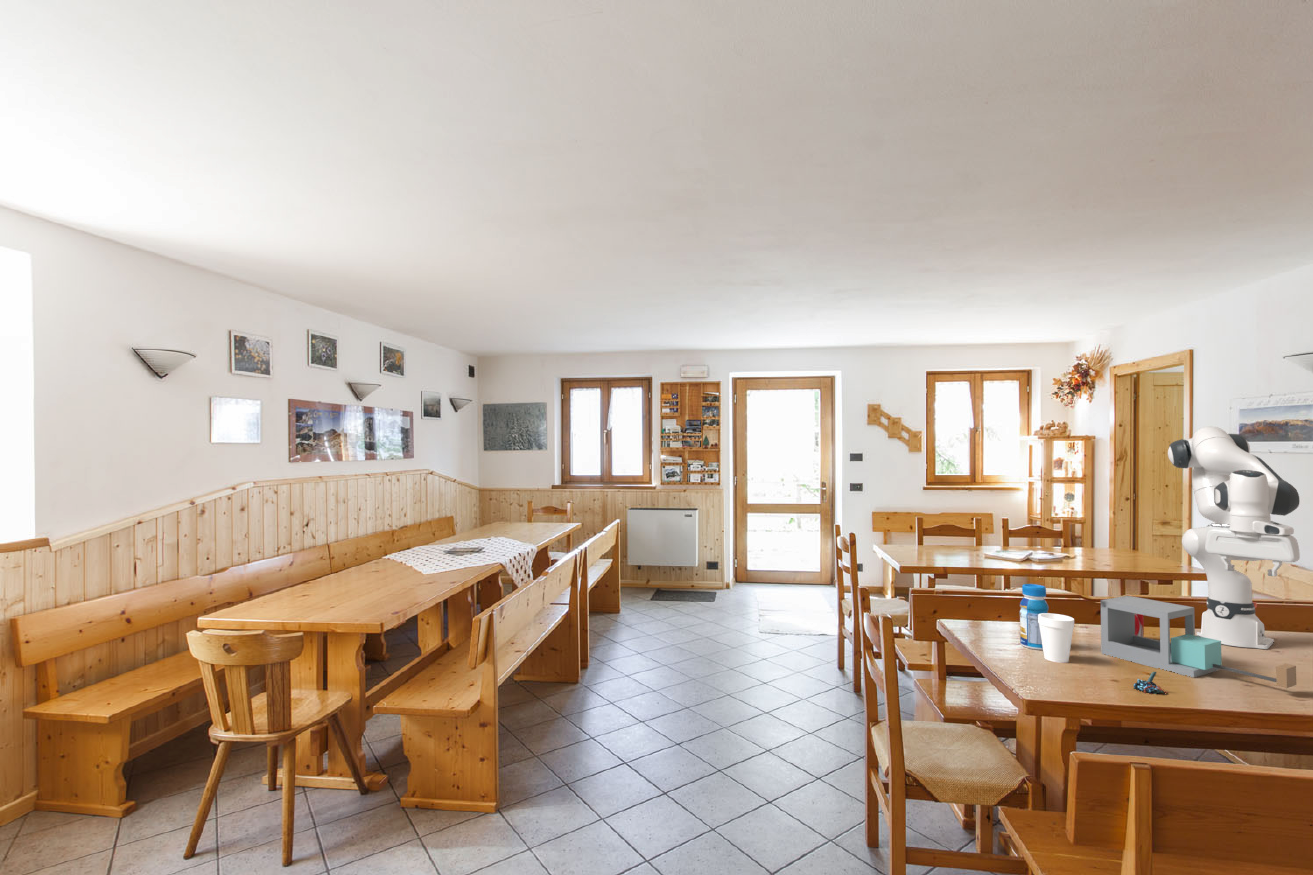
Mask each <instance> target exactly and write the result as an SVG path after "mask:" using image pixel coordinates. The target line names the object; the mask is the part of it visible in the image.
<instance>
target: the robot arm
mask: <svg viewBox="0 0 1313 875" xmlns="http://www.w3.org/2000/svg"><path fill="white" fill-rule="evenodd" d="M1250 446H1251V445H1250V444H1249V442H1248V440H1247V439H1246V437H1245V436H1243V435H1242V434H1239V433H1228V432H1226V431H1225V430H1224V429H1222V428H1220V427H1217V426H1204V427H1201V428H1199V429H1198V430H1196V431H1195V432H1194V434H1193V435H1192V437H1191V438H1185V439H1182V438H1181V439H1178V440H1175V441H1172V442H1171V443H1170V444H1169V447H1168V450H1167V457H1168V460H1169V461H1170V463H1171V464H1172V466H1174V467H1175V468H1178V469H1188V468H1192V471H1191V481H1192V488H1193V493H1194V497H1195V498H1194V499H1195V501H1196V506H1197V510H1198V512H1199V513H1200V515H1201V516H1202V517H1203V518H1205V519H1206V520H1209V521H1212V523H1211V524H1208V525H1207V526H1204V527H1202V526H1201V527H1194V528H1189V529H1187V530H1186V531H1185V532H1184V533H1183V535H1182V537H1181V544H1182V548H1183V549H1184V551H1185V553H1187V554H1188V555H1190V557H1193V558H1194V559H1195V560H1197V562H1198V563H1199V564H1200V566H1201V567H1202V568H1203V570H1204V571H1205V575H1206V579H1207V580H1206V582H1207V588H1208V589H1207V590H1208V596H1207V598H1206V608H1207V610H1206V611H1203V612H1202V615H1201V628H1200V629H1201V630H1200V631H1196V633H1195V634H1196V635H1195V636H1200V637H1205V638H1210V639H1215V640H1219V641H1221V645H1225V646H1231V647H1232V646H1233V647H1239V648H1250V649H1252V648H1253V649H1260V650H1261V649H1262V650H1269V648H1270V647H1272V645H1273V644H1274V643H1275V639H1274V638H1271V637H1267V636H1266V634H1265V633H1266V632H1265V624H1264V623H1263V622H1262V621H1261V620H1260V618H1259V617H1258V616H1257V615H1256V609H1257V607H1258V604H1257V602H1256V601H1253V589H1252V588H1253V582H1252V581H1251V579H1250V578H1249V577H1248V576H1247V575H1246V574H1244V573H1242V572H1240V571H1238V570H1236V569H1235V564H1232V561H1243V562H1244V561H1245V562H1246V561H1248V562H1257V561H1264V560H1267V561H1272V565H1273V567H1271V568H1270V569H1267V577H1268V576H1269V577H1273V578H1275V577H1277V576H1278V570H1279V569H1280V567H1282V566H1283V562H1285V563H1296V562H1297V561H1299V560H1300V557H1301V555H1300V554H1301V553H1300V548H1299V543H1298V540H1297V539H1296V537H1294V536H1293V534H1294V532H1295V529H1294V527H1291V526H1289V525H1286V524H1282V523H1279V522H1276V521H1273V520H1271V518H1272V517H1271V515H1274V516H1275V515H1276V516H1283V517H1284V516H1287V515H1289V514H1291V513H1293V512H1294V511H1296V510H1297V508H1298V507H1299V506H1300V495H1299V492H1298V490H1297V489H1296V488H1295V487H1294V486H1293V485H1292V484H1291V483H1289V482H1287V481H1286V480H1285V479H1283V478H1282V477H1281V476H1280V475H1279V474H1277V472H1276V471H1275V470H1274V469H1273V468H1271V466H1269V465H1268V463H1266V462H1265V461H1264V460H1263V459H1262V458H1261V457H1259V456H1256V455H1254V454H1252V453H1250V452H1251V447H1250ZM1213 522H1214V523H1213ZM1273 642H1274V643H1273Z"/></svg>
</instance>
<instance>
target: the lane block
mask: <svg viewBox="0 0 1313 875" xmlns="http://www.w3.org/2000/svg"><path fill="white" fill-rule="evenodd" d="M1170 643H1171V662H1175V663H1179V664H1183V665H1187V666H1191V667H1195V668H1199V669H1203V670H1207V669H1210V668H1214V667H1215V668H1219V669H1220V670H1223V671H1229V672H1232V673H1237V674H1240V675H1245V676H1248V677H1253V678H1256V679H1261V680H1264V681H1269V682H1273V683H1276V686H1277V687H1279V688H1280V687H1281V688H1284V689H1289V688H1291V687H1294V686H1296V685H1297V666H1296V665H1294V664H1289V663H1283V664H1280V665H1277V666H1276V667H1275V670H1276V678H1275V677H1271V676H1266V675H1262V674H1257V673H1256V672H1255V673H1254V672H1250V671H1246V670H1242V669H1237V668H1234V667H1229V666H1224V665H1223V663H1222V644H1221V641H1219V640H1215V639H1210V638H1205V637H1201V636H1198V635H1191V634H1182V635H1178V636H1174V637H1170Z"/></svg>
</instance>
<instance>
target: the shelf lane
mask: <svg viewBox="0 0 1313 875" xmlns="http://www.w3.org/2000/svg"><path fill="white" fill-rule="evenodd" d="M1135 613H1136V614H1141V615H1143V616H1147V617H1152V618H1158V619H1159V640H1158V639H1153V638H1149V637H1145V636H1144V637H1141V636H1136V635H1135ZM1181 617H1184V631H1185V632H1184V633H1185V634H1191V635H1195V634H1196V633H1195V632H1196V630H1195V627H1196V626H1195V620H1196V618H1195V607H1194V606H1190V605H1189V606H1188V605H1183V604H1176V603H1171V602H1165V601H1160V600H1154V599H1149V598H1143V597H1136V596H1132V595H1123V596H1118V597H1113V598H1111V597H1110V598H1106V599H1100V637H1101V638H1100V640H1101V641H1100V645H1101V646H1100V647H1101V648H1100V650H1101V651H1100V653H1102V654H1101V655H1104V654H1106V655H1105V656H1108V655H1110V656H1109V657H1112V656H1113V657H1112V658H1115V657H1117V658H1116V659H1119V658H1120V659H1121V660H1123V659H1124V660H1123V661H1128V662H1131V661H1132V663H1134V664H1135V663H1136V664H1139V665H1143V666H1148V667H1151V668H1154V669H1158V668H1160V669H1159V670H1162V669H1164V670H1163V671H1166V670H1167V671H1166V672H1169V671H1172V672H1171V673H1173V672H1175V673H1174V674H1177V673H1178V674H1177V675H1181V676H1185V675H1187V676H1186V677H1189V676H1190V677H1189V678H1193V677H1195V678H1198V677H1201V676H1204V675H1208V674H1210V673H1211V674H1212V673H1214V672H1218V671H1220V670H1221V669H1219V668H1215V667H1214V668H1210V669H1207V670H1203V669H1199V668H1195V667H1191V666H1187V665H1183V664H1179V663H1175V662H1171V633H1170V630H1171V629H1170V626H1171V625H1170V620H1172V619H1177V618H1181ZM1185 634H1184V635H1185ZM1195 636H1196V635H1195ZM1197 676H1198V677H1197Z"/></svg>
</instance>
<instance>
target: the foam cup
mask: <svg viewBox="0 0 1313 875" xmlns="http://www.w3.org/2000/svg"><path fill="white" fill-rule="evenodd" d="M1038 623H1039V627H1040V633H1041V640H1042V646H1043V650H1042V651H1043V657H1044V659H1045V660H1047V661H1050V662H1054V663H1061V664H1063V663H1064V664H1065V663H1069V659H1070V653H1071V646H1072V639H1073V633H1074V628H1075V618H1073V617H1072V616H1069V615H1065V614H1059V613H1050V612H1048V613H1042V614H1039V615H1038Z"/></svg>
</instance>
